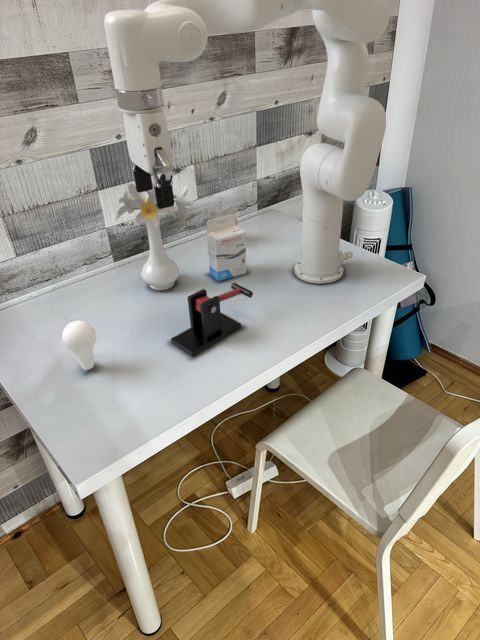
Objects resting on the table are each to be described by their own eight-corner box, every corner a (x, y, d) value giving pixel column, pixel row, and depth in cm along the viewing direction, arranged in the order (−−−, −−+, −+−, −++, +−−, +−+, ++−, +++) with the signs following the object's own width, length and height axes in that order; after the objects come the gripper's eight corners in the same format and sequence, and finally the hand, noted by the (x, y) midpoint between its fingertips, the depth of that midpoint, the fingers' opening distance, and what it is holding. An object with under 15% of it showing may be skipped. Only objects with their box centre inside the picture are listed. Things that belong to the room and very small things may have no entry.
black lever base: (220, 316, 115) (217, 278, 109) (241, 328, 111) (239, 290, 105) (171, 343, 107) (165, 304, 101) (192, 357, 104) (187, 317, 98)
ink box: (218, 282, 127) (214, 227, 118) (209, 274, 130) (204, 220, 121) (247, 273, 131) (245, 219, 122) (237, 265, 134) (235, 212, 125)
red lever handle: (235, 289, 114) (235, 280, 113) (252, 298, 111) (253, 288, 110) (190, 306, 106) (190, 296, 104) (207, 316, 103) (207, 306, 101)
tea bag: (238, 240, 146) (236, 207, 140) (222, 248, 142) (219, 215, 135) (228, 237, 148) (227, 204, 141) (212, 245, 144) (210, 211, 137)
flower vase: (207, 277, 129) (199, 180, 114) (150, 307, 118) (132, 204, 103) (174, 261, 136) (161, 167, 121) (117, 288, 125) (95, 189, 110)
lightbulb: (75, 381, 98) (60, 336, 91) (71, 363, 102) (56, 318, 96) (106, 373, 100) (94, 328, 93) (101, 355, 104) (89, 311, 97)
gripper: (183, 105, 80) (193, 209, 91) (141, 87, 92) (155, 181, 102) (138, 112, 77) (155, 219, 88) (101, 93, 89) (119, 189, 99)
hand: (155, 198), depth 95 cm, fingers open, 9 cm apart
